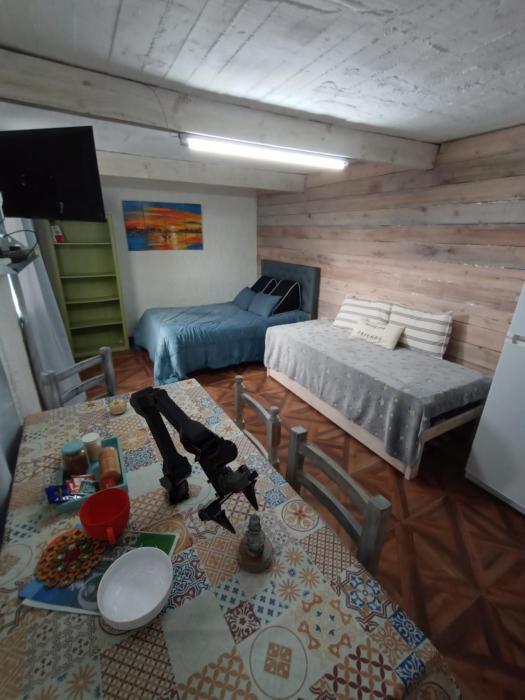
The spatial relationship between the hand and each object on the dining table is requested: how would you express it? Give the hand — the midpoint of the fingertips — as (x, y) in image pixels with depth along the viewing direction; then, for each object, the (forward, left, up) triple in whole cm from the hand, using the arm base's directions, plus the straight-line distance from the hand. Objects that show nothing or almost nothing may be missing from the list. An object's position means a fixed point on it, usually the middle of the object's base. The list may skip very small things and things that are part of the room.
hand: (246, 521), depth 84 cm
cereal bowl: (-28, +3, -11) cm, 30 cm away
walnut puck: (+1, -3, -11) cm, 11 cm away
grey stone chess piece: (+1, -3, -8) cm, 8 cm away
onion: (-17, +94, -11) cm, 96 cm away
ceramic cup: (-31, +25, -11) cm, 42 cm away
